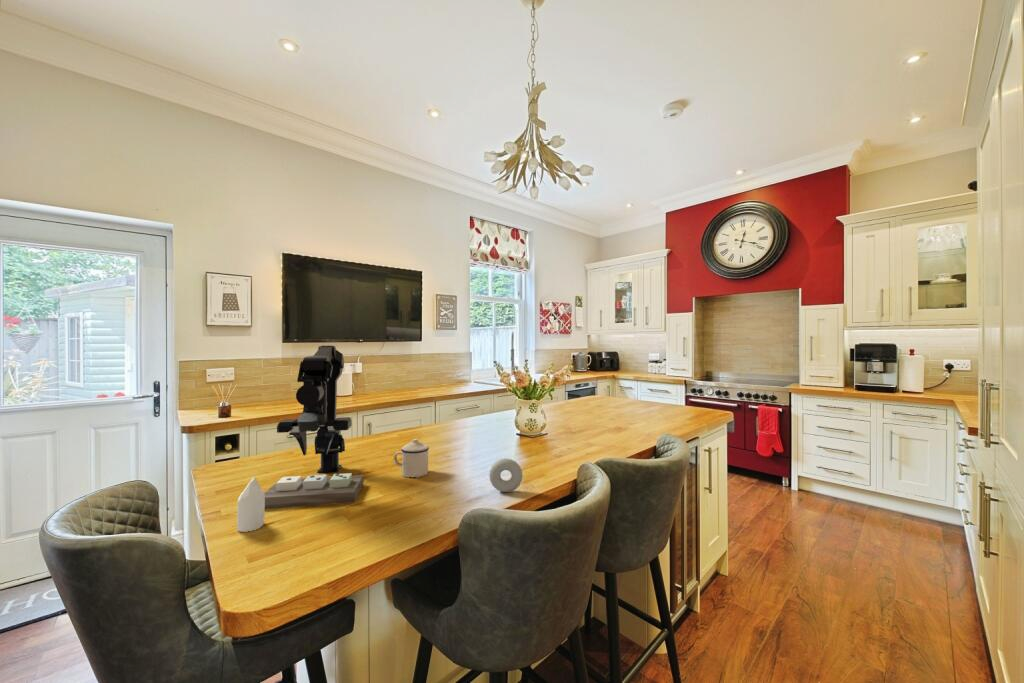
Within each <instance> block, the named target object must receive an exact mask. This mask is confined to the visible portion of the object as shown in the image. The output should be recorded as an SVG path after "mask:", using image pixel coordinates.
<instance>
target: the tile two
mask: <svg viewBox="0 0 1024 683" xmlns="http://www.w3.org/2000/svg"><path fill="white" fill-rule="evenodd" d="M327 477H328V475H327V474H314V475H313V474H312V475H308V476H307V477H305V478H306V479H305V480H304V481H303V490H306V489H322V488H324V486H325V485H326V484H327Z"/></svg>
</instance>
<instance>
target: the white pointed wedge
mask: <svg viewBox="0 0 1024 683" xmlns="http://www.w3.org/2000/svg"><path fill="white" fill-rule="evenodd" d="M265 492H266V491H264V490H263V488H262V487H261V485H259V481H258V479H257V477H256V476H254V477H252V479H251V480H249V482H248V484H247V485H246V487H245V489H244V490H243V491H242V492H241V493H240V495H239V496H238V498H237V512H236V513H237V514H236V515H237V517H236V518H237V521H236V530H237V532H240V533H246V532H247V533H249V532H248V531H250V532H254V531H257V530H259V529H260V527H261V526H262V527H263V526H264V524H265V523H264V522H265V512H266V511H265V510H266V509H265ZM262 527H261V528H262ZM258 528H259V529H258ZM256 529H257V530H256ZM253 530H254V531H253Z"/></svg>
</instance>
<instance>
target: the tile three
mask: <svg viewBox="0 0 1024 683" xmlns="http://www.w3.org/2000/svg"><path fill="white" fill-rule="evenodd" d="M352 474H353V473H352V472H350V473H348V472H347V473H333V475H332V476H331V477H332V478H331V479H330V488H338V487H349V486H350V484H351V483H352V476H353V475H352Z"/></svg>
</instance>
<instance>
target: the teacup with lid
mask: <svg viewBox="0 0 1024 683" xmlns="http://www.w3.org/2000/svg"><path fill="white" fill-rule="evenodd" d="M429 449H430V447H429V445H428V444H426V443H423V442H421V441H419V439H418V438H413V439H412V440H411V442H409V443H407V444H405V445H403V446H402V447H401V450H399V451H396V452H395V453H394V455H393V460H394V463H395V465H396V466H399V467H401V475H402V476H403V477H405V478H409V477H412V479H413V477H416V478H421V476H422V477H424V476H426V475H427V474H428V473H429ZM398 455H401V463H400V462H399V461H398V458H397V456H398Z"/></svg>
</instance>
